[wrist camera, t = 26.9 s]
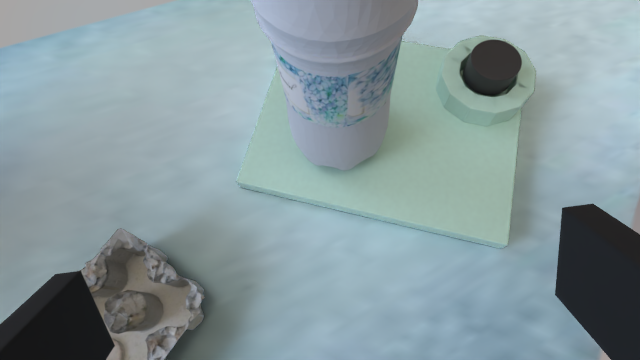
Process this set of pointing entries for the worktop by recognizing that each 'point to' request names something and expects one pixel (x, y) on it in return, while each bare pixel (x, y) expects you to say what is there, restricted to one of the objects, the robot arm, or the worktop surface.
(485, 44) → the button
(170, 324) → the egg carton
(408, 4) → the bottle
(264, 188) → the scale
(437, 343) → the worktop surface
